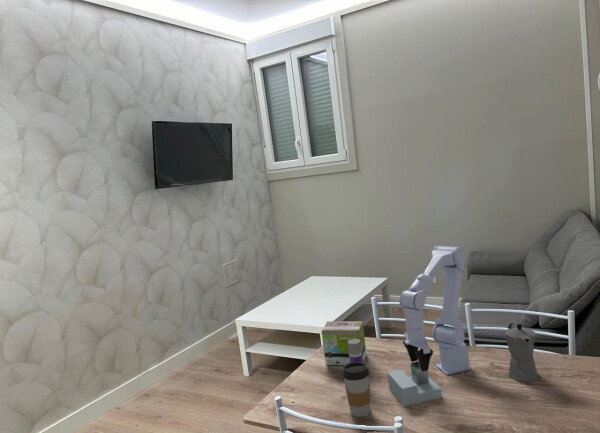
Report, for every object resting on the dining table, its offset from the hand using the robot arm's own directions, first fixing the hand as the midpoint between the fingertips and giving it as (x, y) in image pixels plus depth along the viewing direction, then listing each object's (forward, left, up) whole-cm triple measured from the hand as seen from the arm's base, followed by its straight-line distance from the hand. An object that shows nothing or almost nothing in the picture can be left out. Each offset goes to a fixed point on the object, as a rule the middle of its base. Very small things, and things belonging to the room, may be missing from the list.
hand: (419, 365), depth 152 cm
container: (+17, -15, -9) cm, 24 cm away
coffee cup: (+23, +4, -9) cm, 25 cm away
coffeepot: (-34, +5, -9) cm, 35 cm away
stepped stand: (+4, +1, -9) cm, 9 cm away
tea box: (+16, -33, -9) cm, 38 cm away
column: (0, 0, -6) cm, 6 cm away
